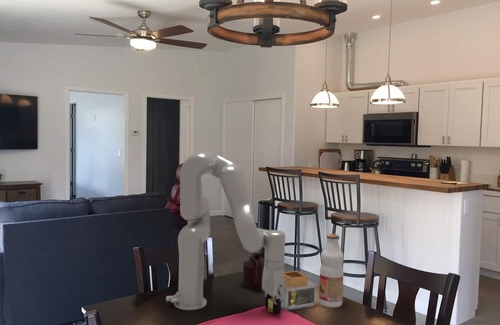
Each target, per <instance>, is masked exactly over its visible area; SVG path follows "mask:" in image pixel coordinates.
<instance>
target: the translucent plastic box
mask: <svg viewBox="0 0 500 325" xmlns="http://www.w3.org/2000/svg"><path fill="white" fill-rule="evenodd" d="M317 287H318V284H316V283H315V282H313V281H311V280H309V276H307V275H306V274H303V272H301V271H299V270H292V271H284V297H285V299H284V300H283V301H282V303H281V309H282V308H283V310H284V312H289V311H293V310H294V311H295V310H299V309H305V308H313V307H316V306H317V292H318V291H317V290H318V289H317ZM295 290H297V302H295V303H291V302H288V291H295ZM277 295H279V294H278V293H277ZM276 298H277V299H278V298H279V297H276Z"/></svg>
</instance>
